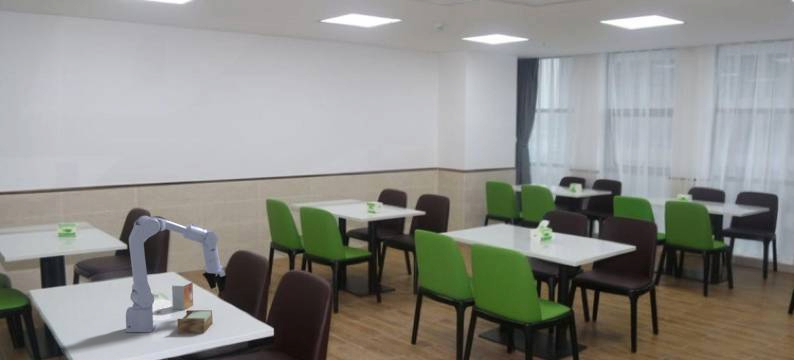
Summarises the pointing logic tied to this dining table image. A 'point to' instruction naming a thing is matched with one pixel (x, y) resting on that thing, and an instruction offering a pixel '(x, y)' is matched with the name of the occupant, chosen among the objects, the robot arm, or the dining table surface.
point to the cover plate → (199, 315)
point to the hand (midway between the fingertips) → (217, 289)
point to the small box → (182, 295)
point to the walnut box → (194, 323)
